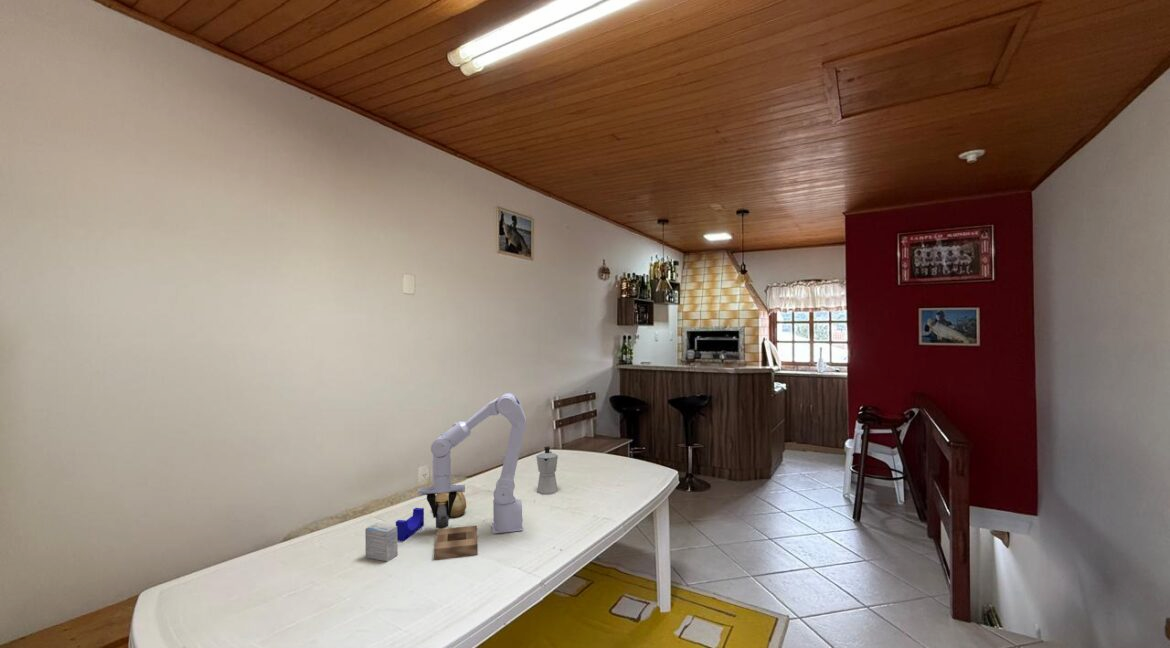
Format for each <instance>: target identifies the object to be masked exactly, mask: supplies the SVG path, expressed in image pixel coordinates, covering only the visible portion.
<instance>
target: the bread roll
mask: <svg viewBox="0 0 1170 648" xmlns="http://www.w3.org/2000/svg"><path fill="white" fill-rule="evenodd" d="M441 499H447V500H448V511H449V493H444V494H436V499H435V505H436V501H437V500H441ZM466 509H467V500H466V497H465V494H464V492H457V496H456V498H455V501H454V503H453V506H452V509H451V516H450V517H454V518H456V517H457V518H458V517H460V516H462V515H463V514H464V513H465V511H466Z"/></svg>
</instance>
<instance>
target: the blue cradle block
mask: <svg viewBox="0 0 1170 648" xmlns="http://www.w3.org/2000/svg"><path fill="white" fill-rule="evenodd" d="M395 526H397V542H405V541H407V540H408V539H409V538H410V537H412V536H413V535H414V534H415V533H417V532H418V531H420V530H421V529H422V528H423V527H424V526H425V508H424V507H414V508H413V510H412V515H411V516H409V518H408V519H406V520H404V519H403V520H402V519H397V520H396V521H395Z"/></svg>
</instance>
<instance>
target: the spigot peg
mask: <svg viewBox="0 0 1170 648" xmlns="http://www.w3.org/2000/svg"><path fill="white" fill-rule="evenodd" d="M449 517H450V516H448V500H447V499H441V500H437V501H436V518H435V528H436V529H447V528H449V522H450V521H449Z"/></svg>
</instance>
